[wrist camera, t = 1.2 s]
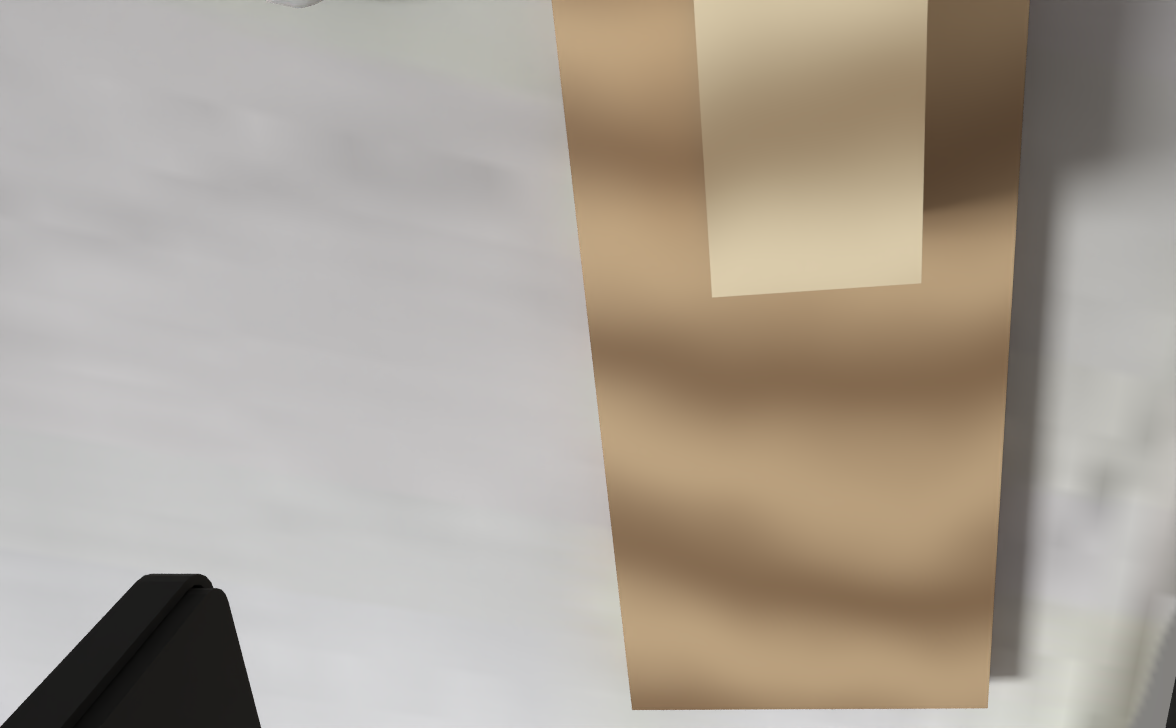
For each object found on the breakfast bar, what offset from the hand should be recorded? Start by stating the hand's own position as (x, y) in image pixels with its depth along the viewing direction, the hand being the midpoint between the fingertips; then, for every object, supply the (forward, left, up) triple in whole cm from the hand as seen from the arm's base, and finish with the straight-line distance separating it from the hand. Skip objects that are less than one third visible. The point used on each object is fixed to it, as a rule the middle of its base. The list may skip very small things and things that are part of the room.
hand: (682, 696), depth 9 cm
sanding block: (-4, +3, -19) cm, 19 cm away
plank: (+4, +3, -20) cm, 21 cm away
